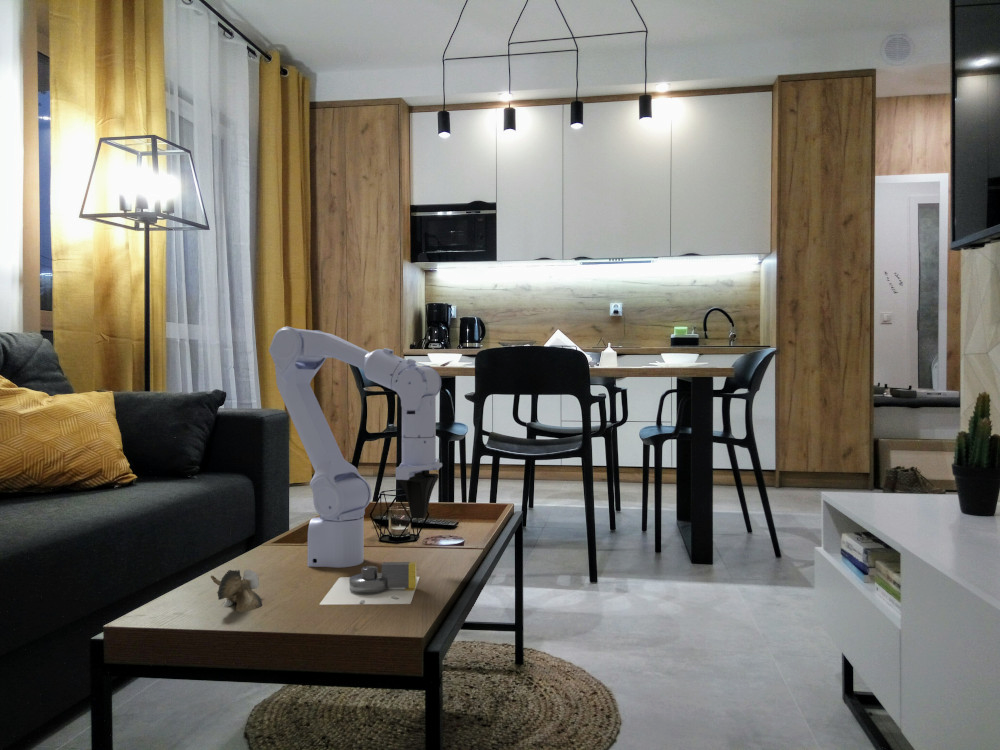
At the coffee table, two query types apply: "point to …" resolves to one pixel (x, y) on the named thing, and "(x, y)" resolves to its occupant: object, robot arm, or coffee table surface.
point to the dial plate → (366, 595)
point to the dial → (384, 577)
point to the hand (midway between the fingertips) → (418, 517)
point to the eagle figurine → (239, 590)
